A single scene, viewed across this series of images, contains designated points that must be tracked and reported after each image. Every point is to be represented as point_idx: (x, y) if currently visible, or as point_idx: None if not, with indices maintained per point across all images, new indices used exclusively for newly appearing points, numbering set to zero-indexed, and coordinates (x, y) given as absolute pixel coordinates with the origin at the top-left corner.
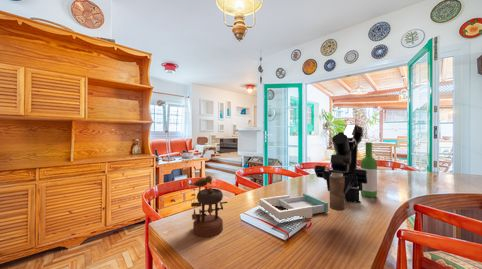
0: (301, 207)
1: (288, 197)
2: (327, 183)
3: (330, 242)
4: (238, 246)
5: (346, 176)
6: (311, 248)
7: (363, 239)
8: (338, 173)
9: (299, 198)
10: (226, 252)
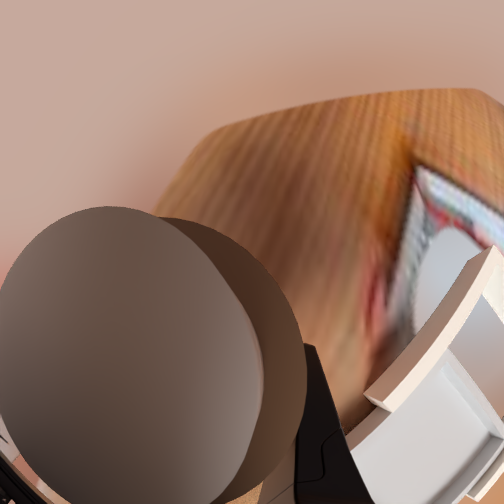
0: (436, 355)
1: (473, 489)
2: (324, 399)
3: (291, 188)
4: (473, 127)
5: (16, 468)
6: (344, 145)
7: None
8: (48, 350)
9: None
10: (472, 110)
